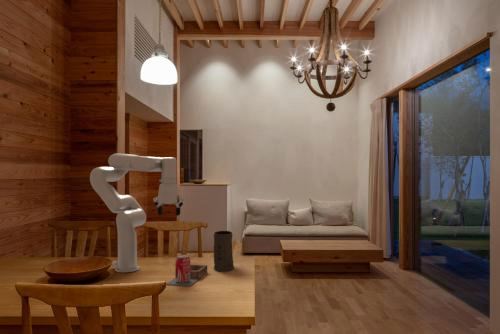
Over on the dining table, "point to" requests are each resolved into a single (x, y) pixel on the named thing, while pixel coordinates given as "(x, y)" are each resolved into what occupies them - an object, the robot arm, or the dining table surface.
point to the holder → (197, 271)
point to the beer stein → (223, 251)
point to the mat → (188, 284)
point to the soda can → (182, 268)
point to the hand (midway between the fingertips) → (169, 215)
